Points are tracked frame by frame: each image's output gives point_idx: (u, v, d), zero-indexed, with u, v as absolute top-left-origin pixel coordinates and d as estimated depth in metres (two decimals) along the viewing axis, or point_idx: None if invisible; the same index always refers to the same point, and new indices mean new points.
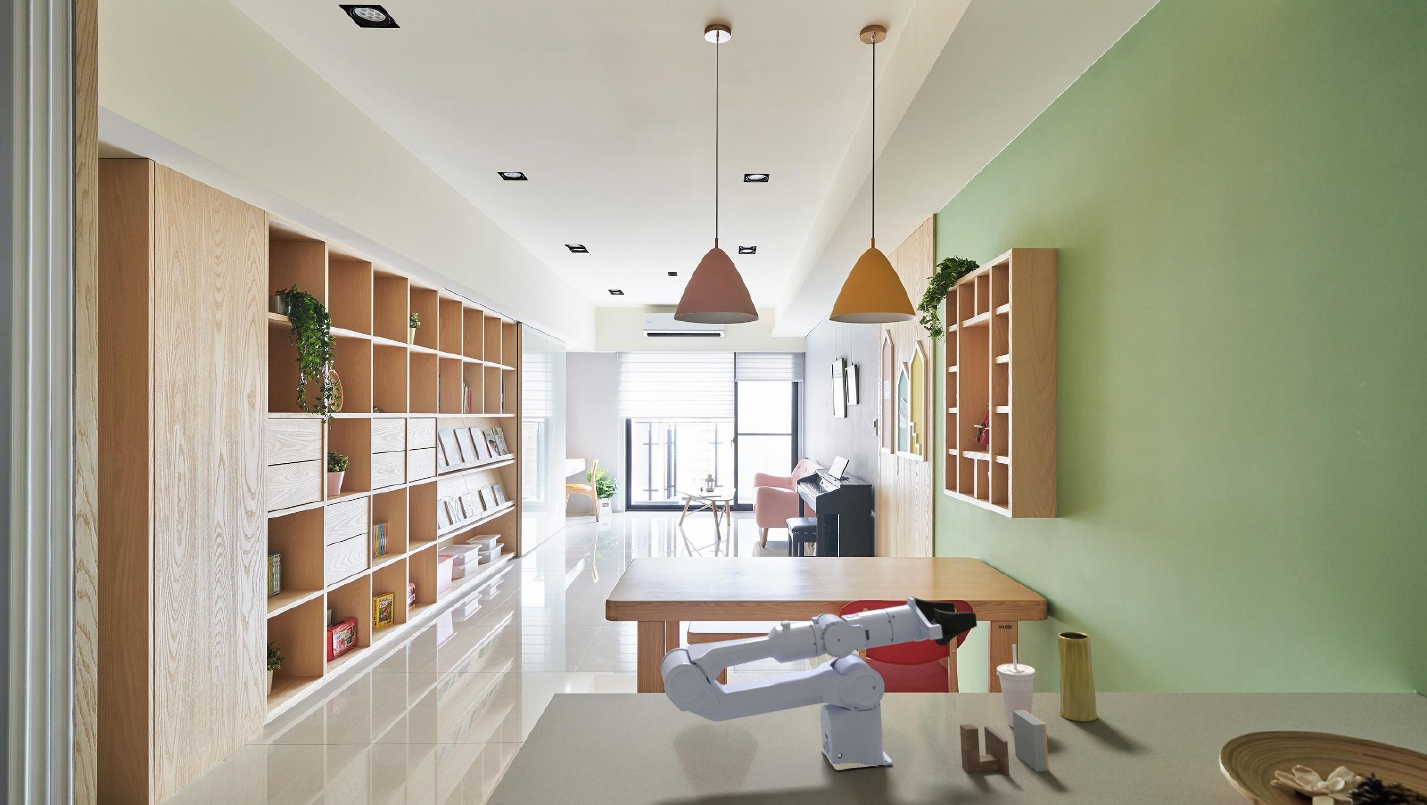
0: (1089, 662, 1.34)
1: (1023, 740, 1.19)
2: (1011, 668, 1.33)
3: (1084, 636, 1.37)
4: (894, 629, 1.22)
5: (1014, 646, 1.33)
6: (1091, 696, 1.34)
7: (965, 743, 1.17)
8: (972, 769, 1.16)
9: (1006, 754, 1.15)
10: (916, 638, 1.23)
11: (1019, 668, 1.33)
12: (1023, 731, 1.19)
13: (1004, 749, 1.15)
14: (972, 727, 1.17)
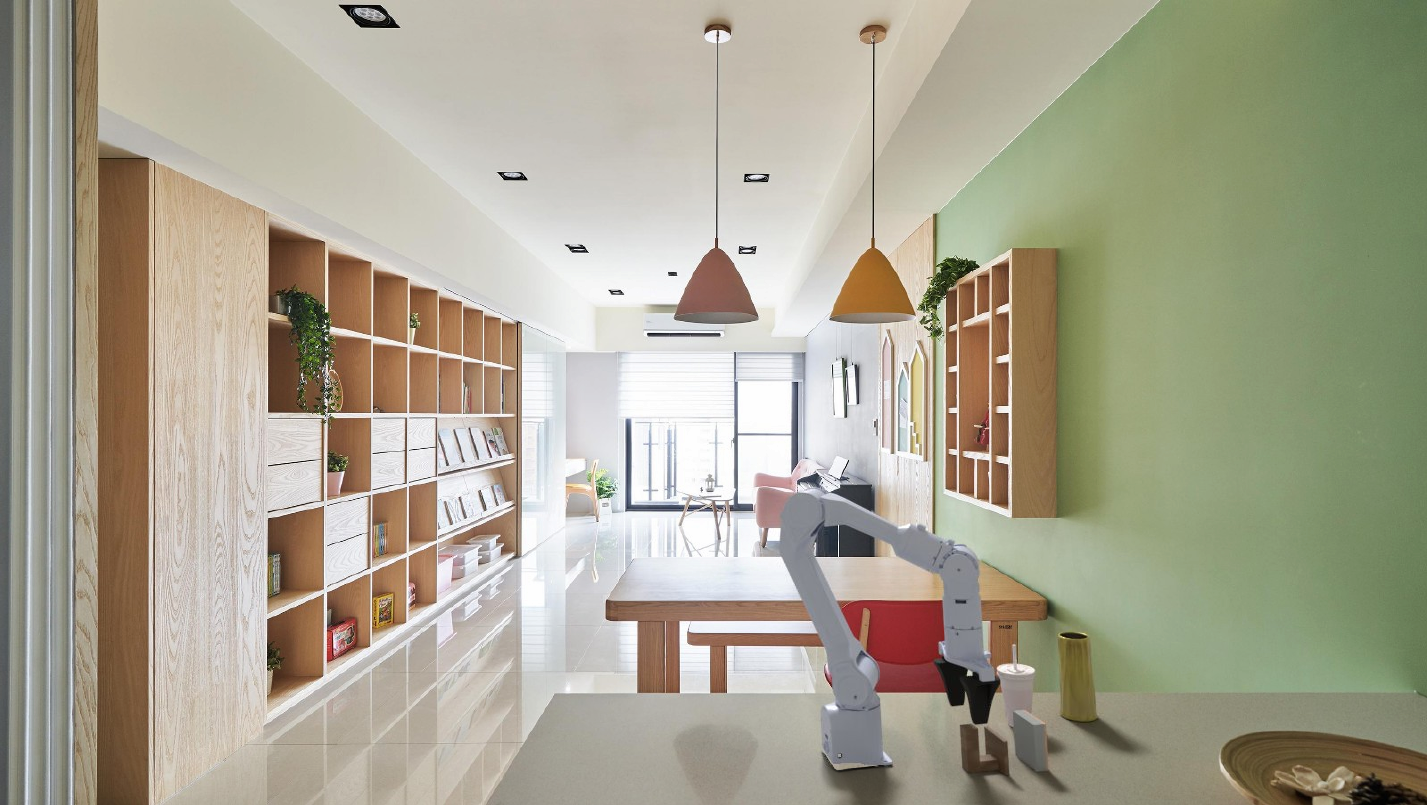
0: (1089, 662, 1.34)
1: (1023, 740, 1.19)
2: (1011, 668, 1.33)
3: (1084, 636, 1.37)
4: (972, 631, 1.15)
5: (1014, 646, 1.33)
6: (1091, 696, 1.34)
7: (965, 743, 1.17)
8: (972, 769, 1.16)
9: (1006, 754, 1.15)
10: (957, 656, 1.16)
11: (1019, 668, 1.33)
12: (1023, 731, 1.19)
13: (1004, 749, 1.15)
14: (972, 727, 1.17)
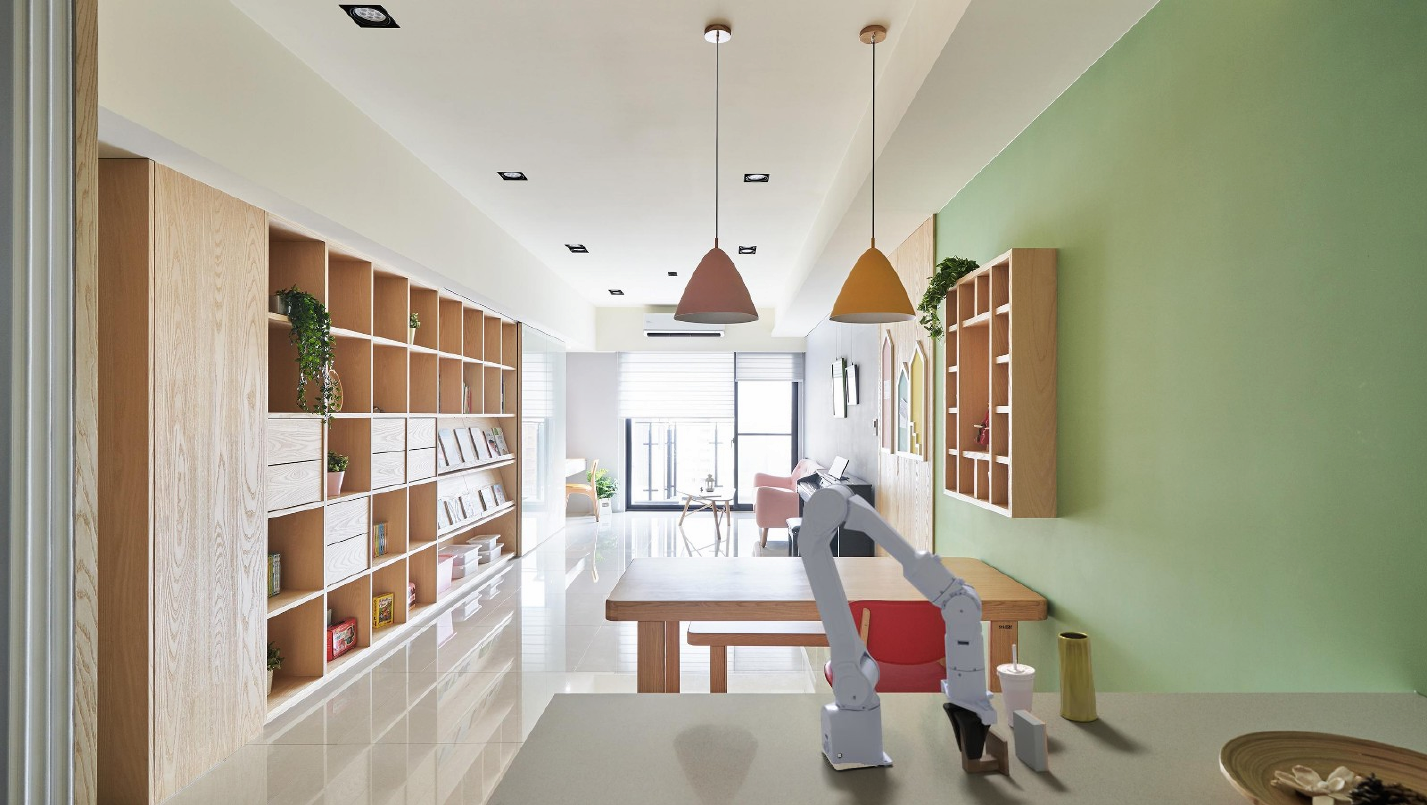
0: (1089, 662, 1.34)
1: (1023, 740, 1.19)
2: (1011, 668, 1.33)
3: (1084, 636, 1.37)
4: (975, 672, 1.15)
5: (1014, 646, 1.33)
6: (1091, 696, 1.34)
7: None
8: (972, 769, 1.16)
9: (1006, 754, 1.15)
10: (959, 697, 1.15)
11: (1019, 668, 1.33)
12: (1023, 731, 1.19)
13: (1004, 749, 1.15)
14: None
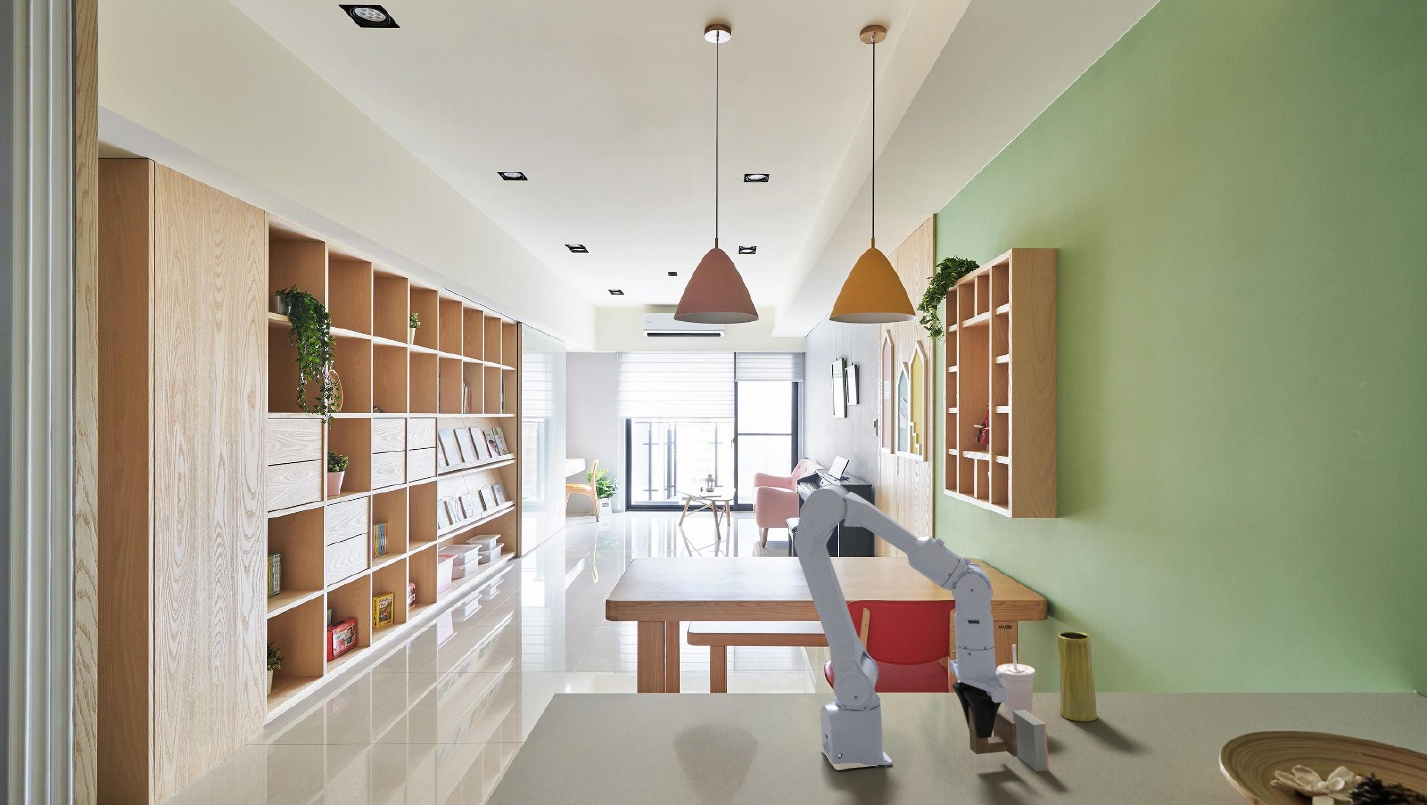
0: (1089, 662, 1.34)
1: (1023, 740, 1.19)
2: (1011, 668, 1.33)
3: (1084, 636, 1.37)
4: (985, 651, 1.15)
5: (1014, 646, 1.33)
6: (1091, 696, 1.34)
7: (973, 724, 1.17)
8: (980, 751, 1.16)
9: (1014, 736, 1.15)
10: (969, 676, 1.16)
11: (1019, 668, 1.33)
12: (1023, 731, 1.19)
13: (1013, 731, 1.15)
14: None
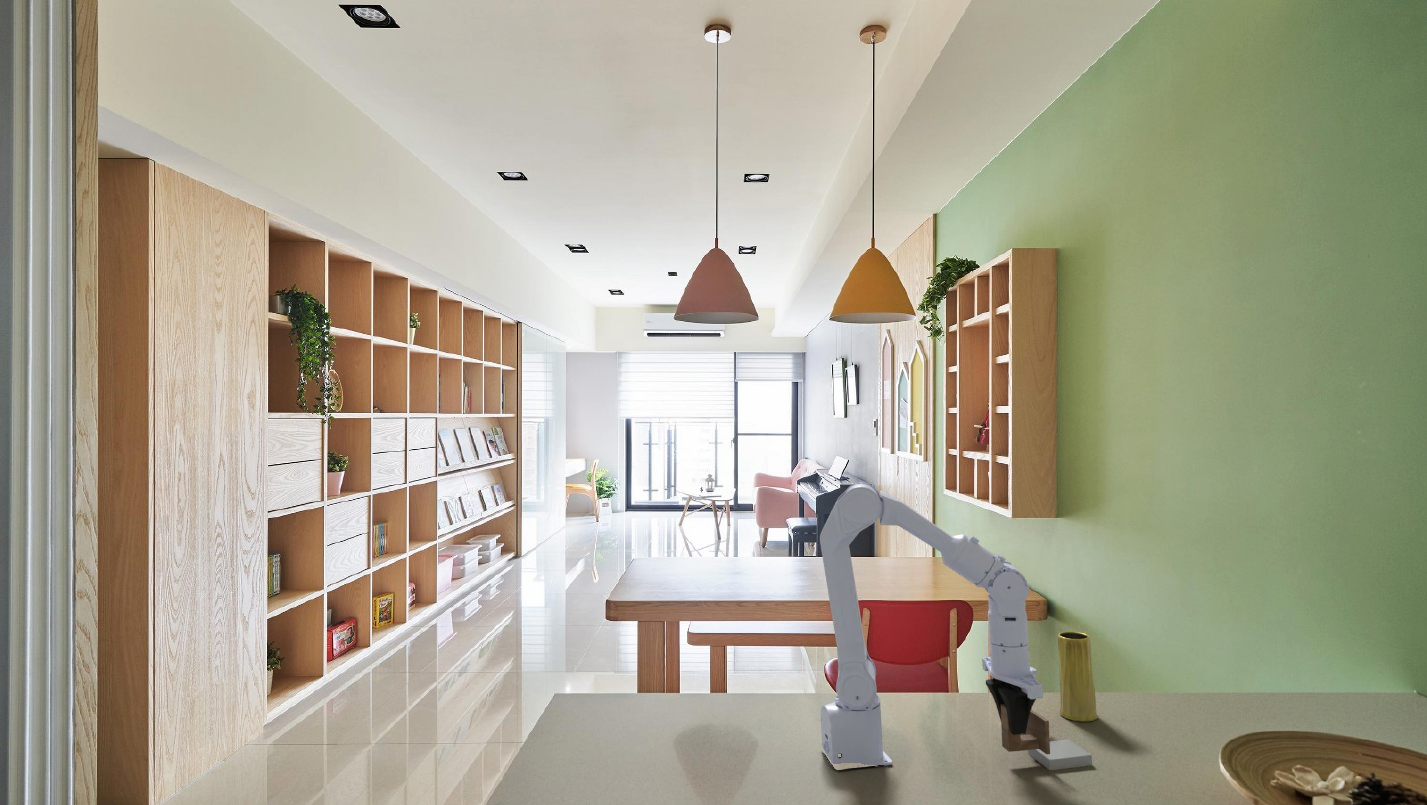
0: (1089, 662, 1.34)
1: (1057, 748, 1.20)
2: None
3: (1084, 636, 1.37)
4: (1019, 648, 1.16)
5: None
6: (1091, 696, 1.34)
7: (1006, 722, 1.18)
8: (1012, 748, 1.17)
9: (1047, 733, 1.16)
10: (1004, 673, 1.17)
11: None
12: (1066, 747, 1.20)
13: (1045, 728, 1.16)
14: None
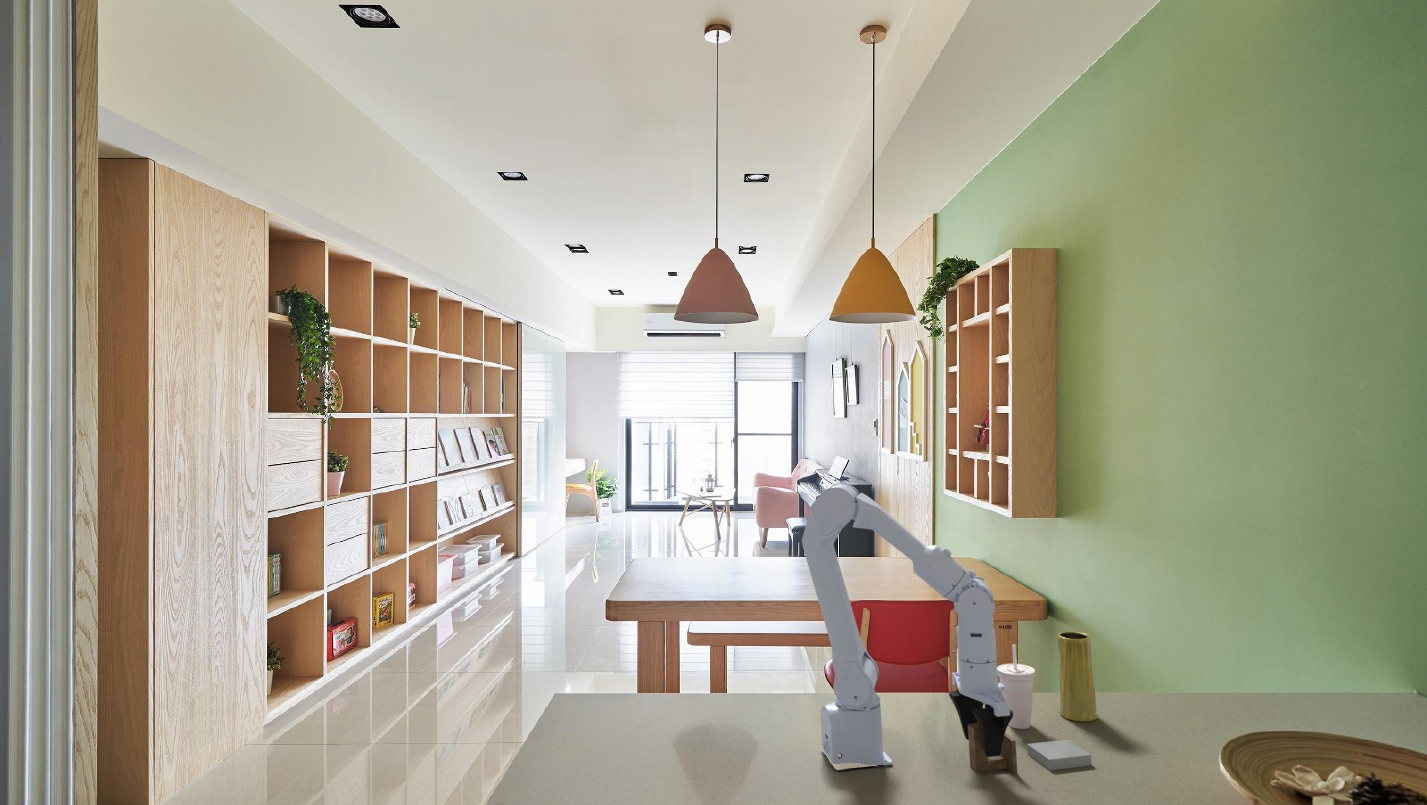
0: (1089, 662, 1.34)
1: (1056, 748, 1.20)
2: (1011, 668, 1.33)
3: (1084, 636, 1.37)
4: (987, 665, 1.15)
5: (1014, 646, 1.33)
6: (1091, 696, 1.34)
7: (973, 742, 1.17)
8: (980, 768, 1.16)
9: (1014, 753, 1.15)
10: (971, 689, 1.16)
11: (1019, 668, 1.33)
12: (1065, 747, 1.20)
13: (1012, 748, 1.15)
14: None
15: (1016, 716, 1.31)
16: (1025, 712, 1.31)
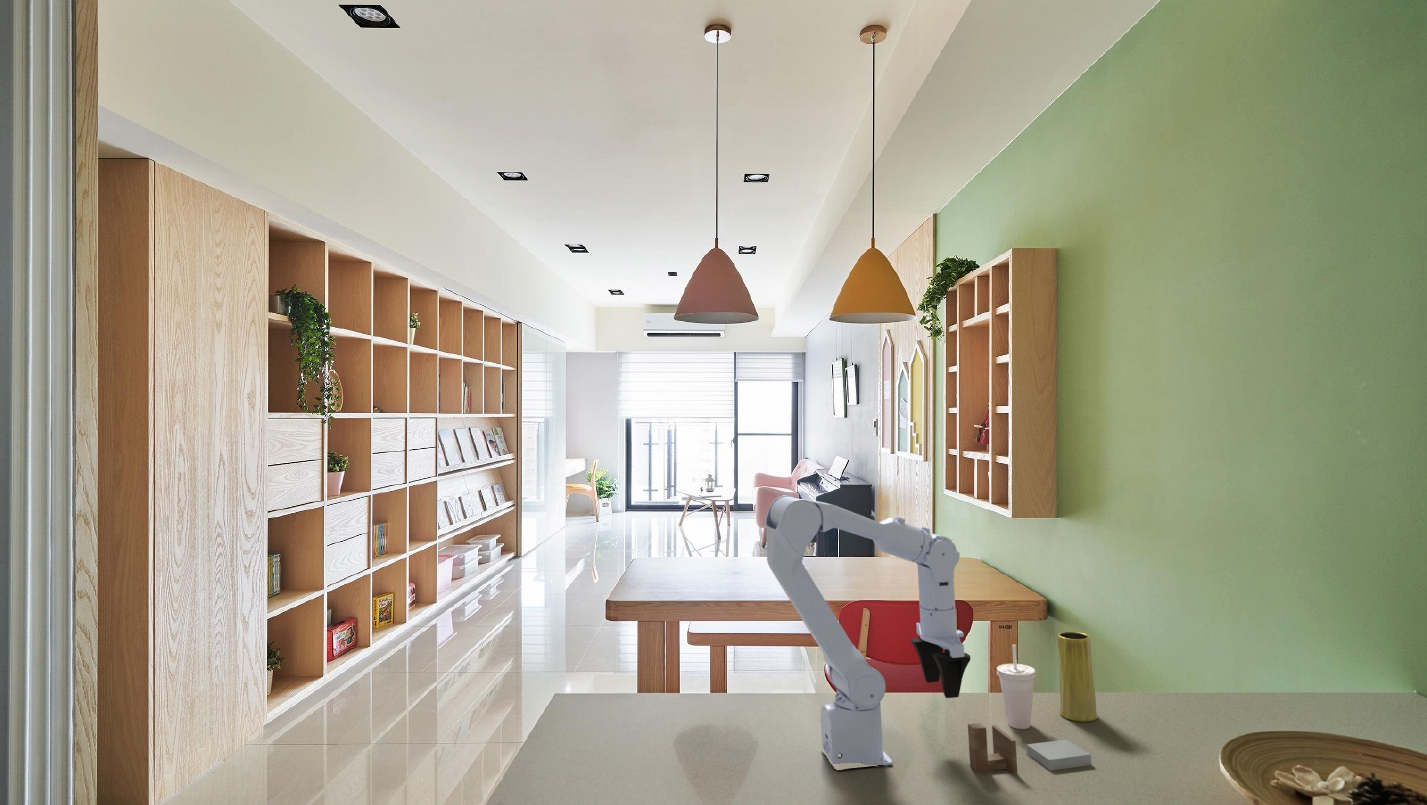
0: (1089, 662, 1.34)
1: (1056, 748, 1.19)
2: (1011, 668, 1.33)
3: (1084, 636, 1.37)
4: (945, 612, 1.24)
5: (1014, 646, 1.33)
6: (1091, 696, 1.34)
7: (973, 742, 1.17)
8: (980, 768, 1.16)
9: (1014, 753, 1.15)
10: (931, 635, 1.24)
11: (1019, 668, 1.33)
12: (1065, 747, 1.20)
13: (1012, 748, 1.15)
14: (980, 726, 1.17)
15: (1016, 716, 1.31)
16: (1025, 712, 1.31)
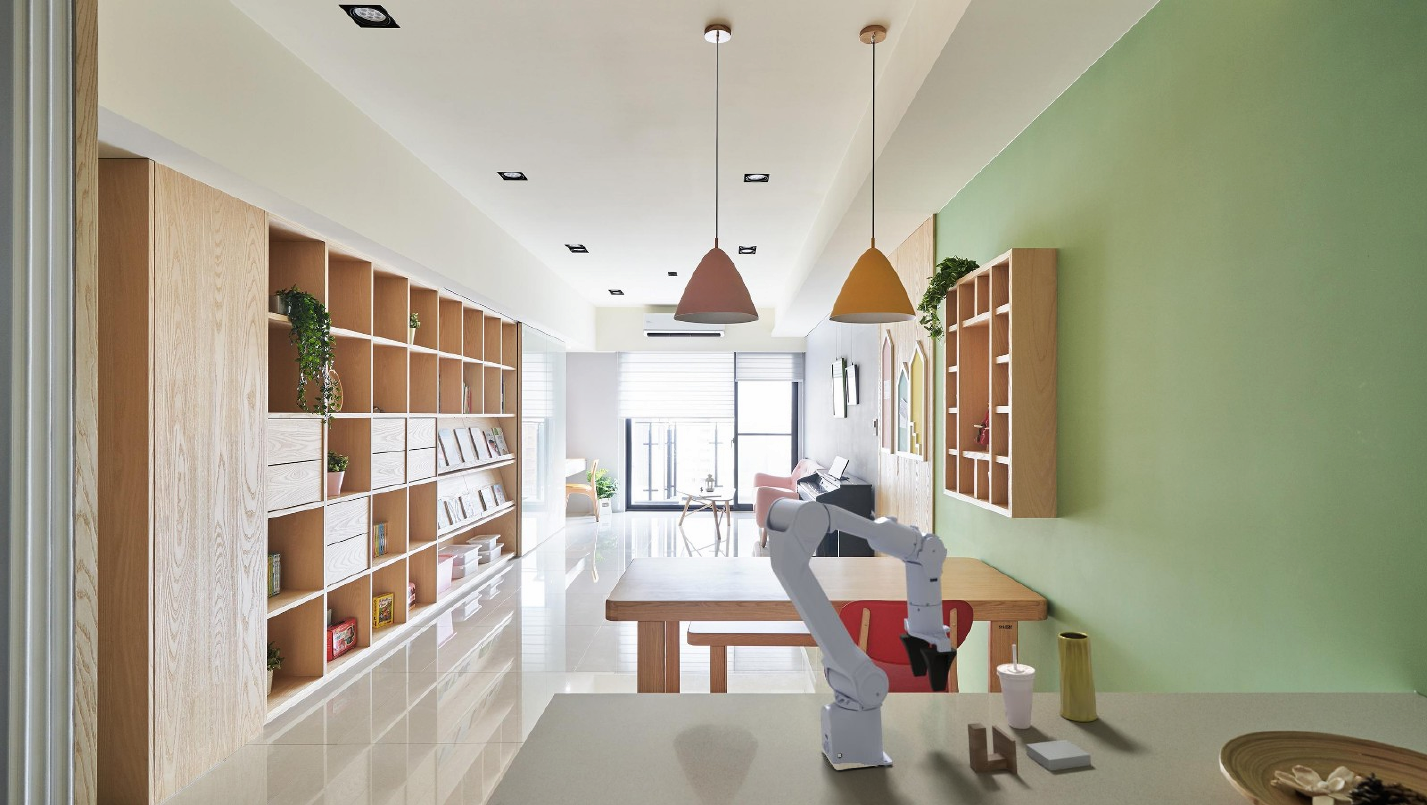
0: (1089, 662, 1.34)
1: (1055, 748, 1.19)
2: (1011, 668, 1.33)
3: (1084, 636, 1.37)
4: (932, 607, 1.27)
5: (1014, 646, 1.33)
6: (1091, 696, 1.34)
7: (973, 742, 1.17)
8: (980, 768, 1.16)
9: (1014, 753, 1.15)
10: (918, 630, 1.27)
11: (1019, 668, 1.33)
12: (1064, 748, 1.20)
13: (1012, 748, 1.15)
14: (980, 726, 1.17)
15: (1016, 716, 1.31)
16: (1025, 712, 1.31)
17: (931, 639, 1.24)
